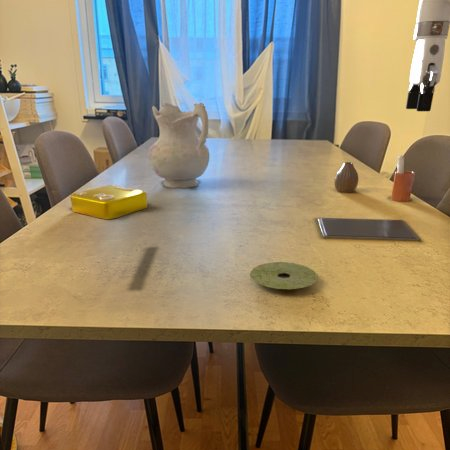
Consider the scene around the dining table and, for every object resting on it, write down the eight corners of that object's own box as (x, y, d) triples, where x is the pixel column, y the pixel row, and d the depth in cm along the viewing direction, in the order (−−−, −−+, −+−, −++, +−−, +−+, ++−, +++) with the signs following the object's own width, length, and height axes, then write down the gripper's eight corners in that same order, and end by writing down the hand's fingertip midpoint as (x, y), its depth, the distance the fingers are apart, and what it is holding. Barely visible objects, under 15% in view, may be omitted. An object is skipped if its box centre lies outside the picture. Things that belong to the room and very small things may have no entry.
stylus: (402, 198, 123) (403, 154, 117) (403, 199, 121) (404, 155, 116) (396, 198, 123) (397, 155, 118) (397, 200, 121) (398, 156, 116)
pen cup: (406, 199, 124) (411, 170, 121) (411, 203, 120) (417, 174, 116) (388, 198, 125) (393, 170, 121) (392, 203, 120) (398, 174, 117)
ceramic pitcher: (225, 185, 145) (227, 104, 135) (198, 193, 129) (198, 102, 119) (170, 180, 153) (168, 103, 143) (137, 187, 137) (133, 101, 127)
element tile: (150, 207, 117) (149, 189, 115) (108, 220, 106) (106, 201, 104) (112, 199, 125) (110, 182, 122) (69, 211, 114) (66, 193, 111)
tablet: (401, 224, 103) (402, 219, 103) (419, 244, 91) (420, 239, 90) (317, 221, 105) (317, 217, 105) (323, 240, 93) (323, 236, 92)
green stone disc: (246, 297, 69) (246, 286, 68) (253, 269, 79) (253, 259, 78) (317, 302, 67) (318, 290, 67) (315, 273, 77) (316, 263, 76)
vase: (357, 195, 128) (362, 165, 124) (334, 194, 129) (337, 164, 125) (355, 190, 134) (359, 161, 130) (332, 189, 135) (335, 160, 131)
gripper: (461, 28, 95) (444, 112, 103) (435, 35, 111) (422, 108, 119) (426, 28, 96) (411, 112, 104) (405, 36, 112) (394, 108, 119)
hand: (417, 110), depth 111 cm, fingers open, 9 cm apart
